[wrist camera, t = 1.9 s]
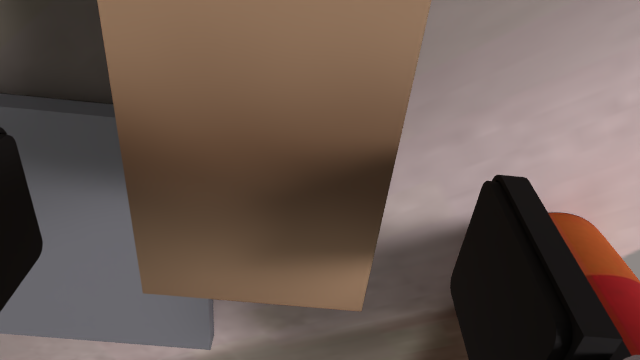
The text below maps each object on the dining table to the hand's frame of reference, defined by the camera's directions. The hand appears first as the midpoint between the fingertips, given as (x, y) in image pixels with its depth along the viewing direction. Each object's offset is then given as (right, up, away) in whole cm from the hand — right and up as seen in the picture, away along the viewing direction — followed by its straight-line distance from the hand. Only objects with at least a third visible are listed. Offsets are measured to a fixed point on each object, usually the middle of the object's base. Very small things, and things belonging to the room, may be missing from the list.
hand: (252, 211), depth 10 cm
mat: (-10, -2, +13) cm, 17 cm away
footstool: (0, +6, +7) cm, 10 cm away
